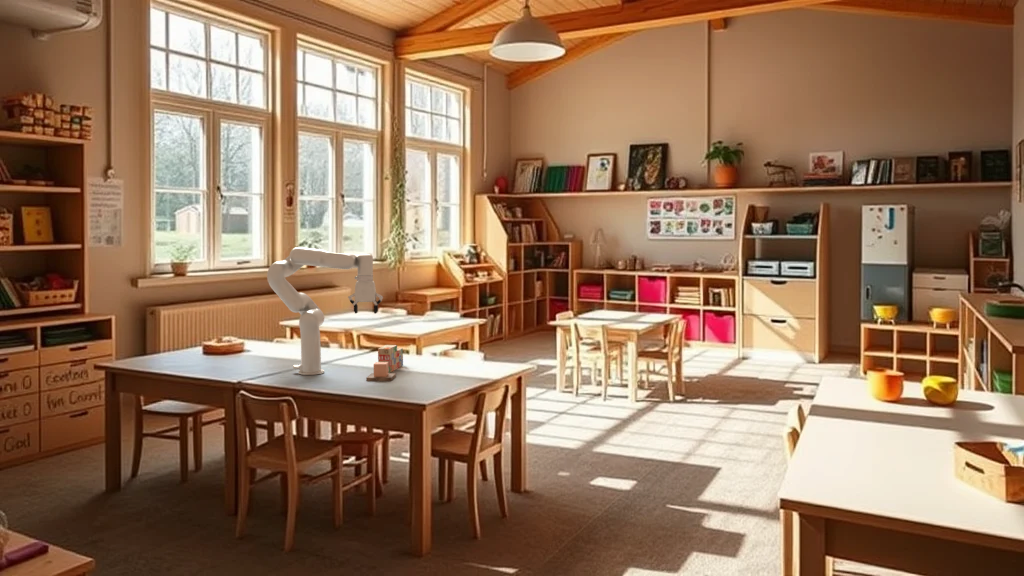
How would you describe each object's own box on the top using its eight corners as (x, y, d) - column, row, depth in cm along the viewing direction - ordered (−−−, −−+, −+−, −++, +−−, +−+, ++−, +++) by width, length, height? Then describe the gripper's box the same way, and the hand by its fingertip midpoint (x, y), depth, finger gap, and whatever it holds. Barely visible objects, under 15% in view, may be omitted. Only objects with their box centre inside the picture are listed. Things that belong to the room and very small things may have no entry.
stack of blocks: (391, 365, 436) (391, 342, 435) (403, 365, 435) (402, 342, 434) (378, 372, 415) (377, 348, 414) (390, 372, 414) (389, 348, 413)
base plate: (366, 380, 391) (366, 369, 391) (371, 376, 403) (371, 365, 403) (391, 380, 391) (391, 369, 390) (395, 376, 403) (395, 365, 402)
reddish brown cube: (373, 376, 394) (373, 364, 393) (376, 374, 400) (375, 362, 399) (386, 376, 394) (386, 364, 393) (388, 374, 400) (388, 362, 399)
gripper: (346, 279, 404) (346, 313, 405) (381, 279, 404) (381, 314, 405) (349, 278, 412) (350, 312, 413) (384, 278, 411) (384, 312, 412)
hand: (365, 313), depth 409 cm, fingers open, 9 cm apart
